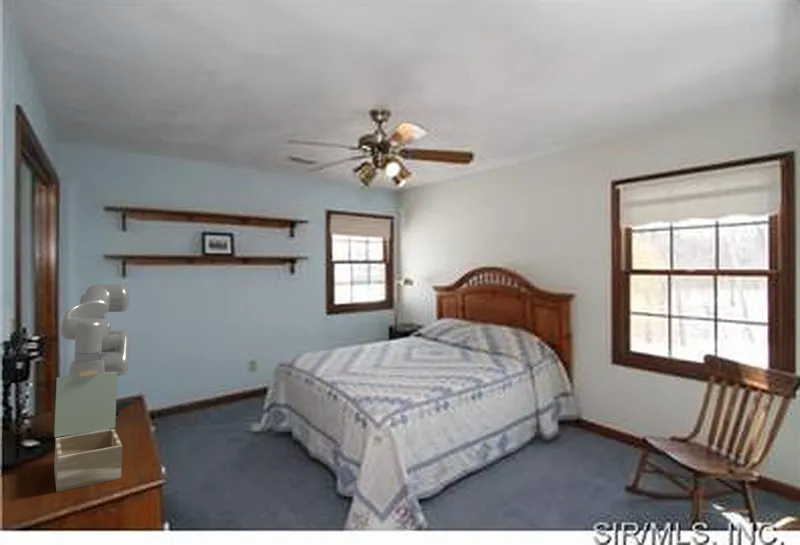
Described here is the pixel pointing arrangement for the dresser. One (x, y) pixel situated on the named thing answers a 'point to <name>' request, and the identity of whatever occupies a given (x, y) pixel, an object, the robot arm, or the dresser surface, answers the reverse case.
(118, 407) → the sculpture
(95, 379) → the lid
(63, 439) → the box
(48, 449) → the dresser surface
